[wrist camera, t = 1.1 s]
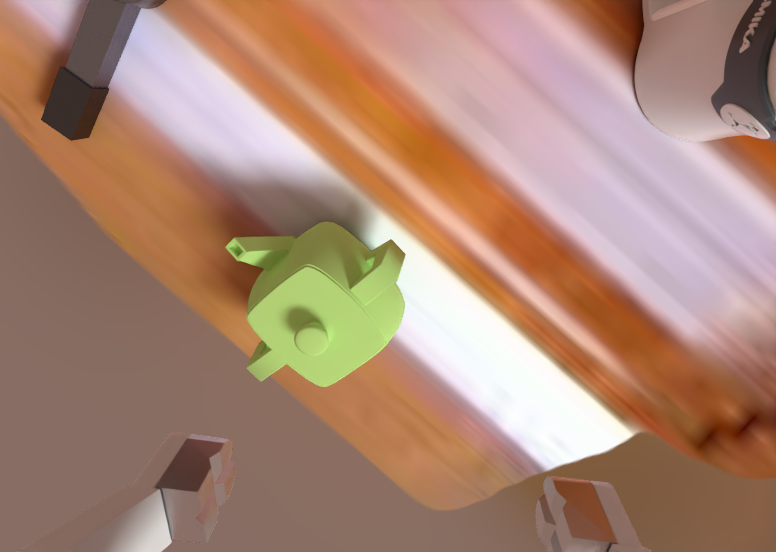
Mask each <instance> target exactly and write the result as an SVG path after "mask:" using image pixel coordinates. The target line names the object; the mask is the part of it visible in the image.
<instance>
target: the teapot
mask: <svg viewBox="0 0 776 552" xmlns="http://www.w3.org/2000/svg"><path fill="white" fill-rule="evenodd" d="M225 248H226V249H227V250H228V251H229V252H230V253H231V255H232V256H233V257H234V258H235V259H236V260H237V261H242V262H245V263H248V264H251V265H254V266H257V267H260V268H263V269H264V270H263V271H262V272H261V273H260V275H259V276H258V278H257V280H256V282H255V283H254V285H253V287H252V290H251V292H250V296H249V300H248V305H247V315H246V317H247V320H248V322H249V324H250V326H251V327H252V328H253V330H254V331H255V332H256V333H257V334H258V336H259V337H260V338H261V339H262V341H261V342H260V343H259V344H258V346H257V348H256V350H255V352H254V354H253V356H252V357H251V359H250V361H249V363H248V366H247V367H246V368H247V369H248V370H249V371H250V372H251V373H252V374H253V375H254V376H255V377H256V378H257V379H259V380H260V381H262V380H264V379H265V378H267V377H268V376H270V375H271V374H273V373H274V372H275V371H277V370H278V369H280V368H281V367H283V366H284V365H286V364H288V365H289V366H290V367H291V368H293V369H294V370H295V371H296V372H298V373H299V374H300V375H302V376H303V377H305V378H306V379H307V380H309V381H311V382H312V383H314V384H316V385H318V386H321V387H326V386H329V385H331V384H333V383H335V382H337V381H338V380H340V379H342V378H343V377H345V376H346V375H348V374H349V373H351V372H352V371H354V370H355V369H357V368H358V367H360V366H361V365H362V364H364V363H365V362H367V361H368V360H370V359H371V358H372V357H373V356H375V355H376V354H377V353H379V352H380V351H381V350H382V349H383V348H384V347H385V346H386V345H387V343H388V342H389V341H390V339H391V338H392V337H393V335H394V334H395V333H396V331H397V329H398V328H399V325H400V323H401V320H402V317H403V314H404V308H405V302H404V299H403V296H402V293H401V291H400V290H399V288H398V286H397V284H396V283H395V282H396V281H397V280H398V277H399V274H400V271H401V267H402V264H403V261H404V258H405V255H406V254H405V253H404V252H403V251H402V250H401V249H400V248H399V247H398V246H397V245H396V244H395V243H394V242H393V240H392V239H391V240H389V241H387V242H386V243H384V244H382V245H381V246H379V247H377V248H376V249H374V250H372V251H370V250H369V249H368V248H367V247H366V246H365V245H364V244H363V243H361V242H360V241H359V240H358V239H357V238H356V237H354V236H353V235H352V234H351V233H350V232H348V231H347V230H346V229H344V228H343V227H341V226H340V225H338V224H336V223H334V222H328V221H324V222H320V223H318V224H316V225H314V226H313V227H311V228H310V229H308V230H307V231H306V232H304V233H303V234H301V235H300V236H299V237H297V238H295V237H294V236H266V237H235V238H233V239H232V240H231V241H230V242H229V243H228V244H227V245H226V246H225Z"/></svg>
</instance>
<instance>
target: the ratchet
mask: <svg viewBox="0 0 776 552" xmlns="http://www.w3.org/2000/svg"><path fill="white" fill-rule="evenodd" d="M165 1H166V0H90V1H89V4H88V7H87V9H86V12H85V15H84V18H83V20H82V23H81V26H80V28H79V31H78V34H77V37H76V39H75V42H74V45H73V47H72V50H71V53H70V56H69V58H68V61H67V64H66V66H65V67H60V69H59V72H58V75H57V77H56V80H55V83H54V86H53V88H52V91H51V94H50V97H49V99H48V102H47V105H46V107H45V110H44V113H43V116H42V118H41V120H42V121H43V122H45V123H46V124H48V125H49V126H51V127H52V128H54V129H55V130H56V131H58V132H59V133H61V134H62V135H64V136H65V137H67V138H68V139H70V140H78V139H84V138H89V136H90V134H91V131H92V129H93V127H94V124H95V122H96V119H97V117H98V115H99V112H100V110H101V108H102V105H103V103H104V101H105V98H106V96H107V93H108V91H109V88H108V85H109V83H110V81H111V78H112V76H113V74H114V71H115V69H116V66H117V64H118V62H119V59H120V57H121V54H122V52H123V50H124V47H125V45H126V43H127V40H128V38H129V35H130V33H131V31H132V28H133V26H134V23H135V21H136V19H137V16H138V14H139V12H140V9H141V8H144V9H151V8H155V7H158V6H160V5H161V4H163V3H164V2H165Z"/></svg>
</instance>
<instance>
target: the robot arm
mask: <svg viewBox="0 0 776 552" xmlns="http://www.w3.org/2000/svg"><path fill="white" fill-rule="evenodd" d="M642 6H643V18H644V31H643V36H642V40H641V43H640V47H639V50H638V54H637V59H636V65H635V89H636V94H637V98H638V101H639V104H640V106H641V109H642V111H643V113H644V114H645V116H646V117H647V118H648V120H649V121H650V122H651V123H652V124H653V125H654V126H655V127H656V128H657V129H659V130H660V131H661V132H663V133H665V134H667V135H669V136H671V137H674V138H677V139H680V140H685V141H709V140H715V139H720V138H724V137H730V136H739V135H749V136H752V137H756V138H761V139H766V140H771V141H776V0H642ZM232 451H233V446H232V441H231V440H228V439H222V438H221V439H220V438H215V437H208V436H201V435H193V434H185V433H178V432H173V433H172V434H170V435H169V436H168V437H167V438H166V439H165V440H164V442H163V443H162V445H161V446H160V447H159V449H158V450H157V451H156V453H155V454H154V456H153V457H152V459H151V460H150V461H149V463H148V464H147V465H146V467H145V468H144V469H143V471H142V472H141V474H140V475H139V476H138V478H137V479H136V481H135V482H134V483H133V485H125V486H123V487H122V488H120V489H119V490H117V491H115V492H114V493H112V494H110V495H109V496H107V497H105V498H104V499H102V500H101V501H99V502H97V503H95V504H94V505H92V506H90V507H89V508H87V509H86V510H84V511H82V512H81V513H79V514H77V515H76V516H74V517H72V518H71V519H69V520H68V521H66V522H64V523H63V524H61V525H59V526H58V527H56V528H54V529H53V530H51V531H49V532H48V533H46V534H44V535H43V536H41V537H39V538H38V539H36V540H35V541H33V542H31V543H30V544H28V545H26V546H25V547H23V548H21V549H20V550H18V551H17V552H161V551H162V550H164V549H165V548H166V547H167V546H168V545H169V544H170V543H171V542H172V541H171V540H175V541H186V542H196V543H207V541H208V539H209V537H210V535H211V532H212V530H213V528H214V526H215V524H216V522H217V520H218V509H217V508H218V507H219V506H220V505H222V504H223V503H224V502H226V501H227V498H228V496H229V494H230V492H231V489H232V485H233V481H234V476H235V463H234V461H233V460H232V459H231V458H230V455H231V453H232ZM543 488H544V491H545V494H544V495H543V496H541V497H540V498H539V499H538V503H537V506H536V526H537V531H538V535H539V539H540V540H541V541H542V542H543V544H544V545H545V546H546V547H547V551H546V552H652V551H651V550H650V549H649V548H644V547H642V546H641V544H640V542H639V539H638V538H637V535H636V533H635V531H634V529H633V527H632V525H631V523H630V521H629V518H628V516H627V514H626V512H625V511H624V508H623V506H622V504H621V502H620V500H619V498H618V496H617V494H616V491H615V489H614V487H613V486H612V485H611V484H610V483H606V482H597V481H587V480H582V479H572V478H561V477H553V476H548V477H547V478H546V479H545V481H544V484H543Z"/></svg>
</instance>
